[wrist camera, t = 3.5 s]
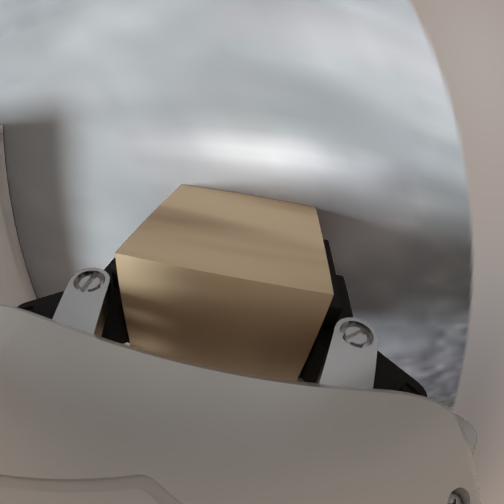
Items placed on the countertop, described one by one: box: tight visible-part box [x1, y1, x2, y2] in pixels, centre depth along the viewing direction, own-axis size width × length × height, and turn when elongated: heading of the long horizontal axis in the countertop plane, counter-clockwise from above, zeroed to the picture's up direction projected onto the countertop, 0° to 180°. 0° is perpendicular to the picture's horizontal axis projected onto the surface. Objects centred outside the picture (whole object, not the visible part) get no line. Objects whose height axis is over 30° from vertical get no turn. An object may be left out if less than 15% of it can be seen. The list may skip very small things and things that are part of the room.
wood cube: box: [115, 184, 334, 381], centre depth 10 cm, size 5×5×5 cm
